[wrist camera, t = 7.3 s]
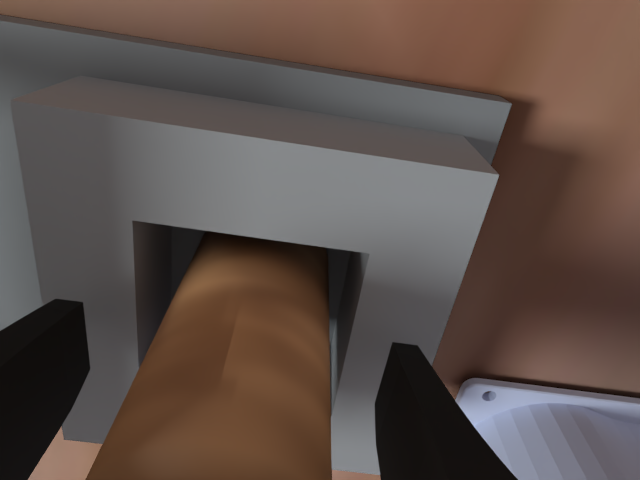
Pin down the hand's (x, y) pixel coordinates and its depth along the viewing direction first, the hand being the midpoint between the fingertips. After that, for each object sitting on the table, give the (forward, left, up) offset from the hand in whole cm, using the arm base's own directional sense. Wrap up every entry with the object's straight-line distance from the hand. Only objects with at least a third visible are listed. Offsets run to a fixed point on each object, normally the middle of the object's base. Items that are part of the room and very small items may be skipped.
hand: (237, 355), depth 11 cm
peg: (0, 0, -4) cm, 4 cm away
